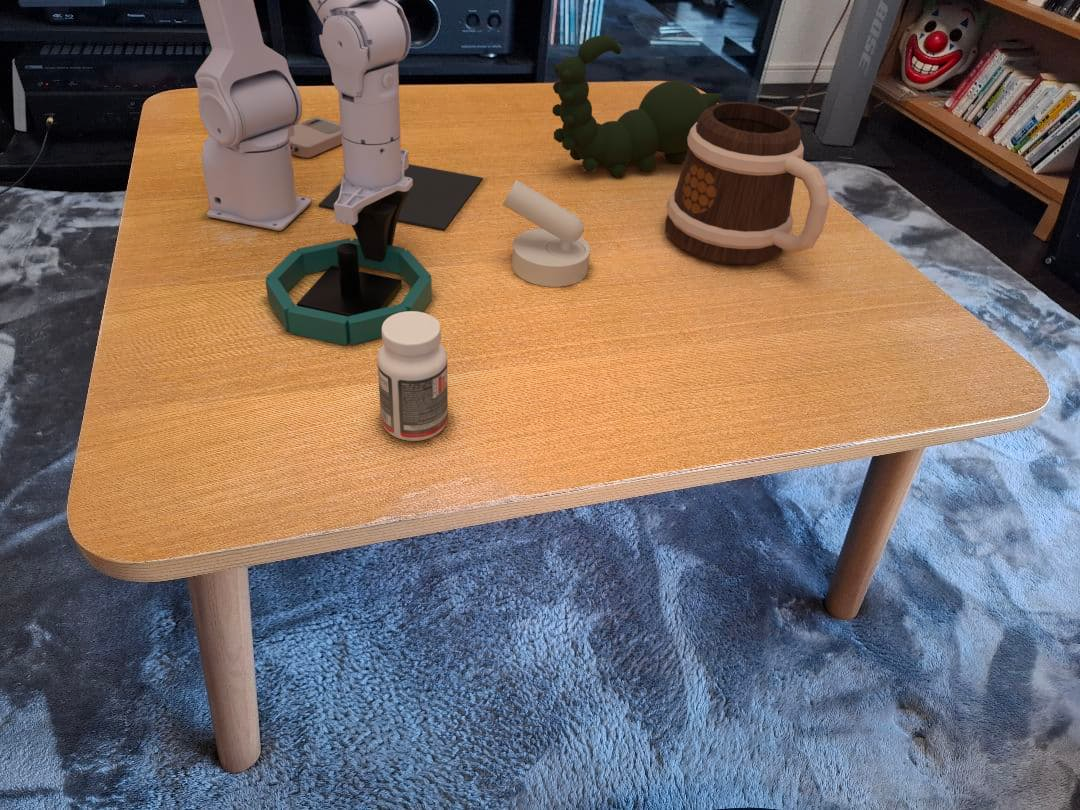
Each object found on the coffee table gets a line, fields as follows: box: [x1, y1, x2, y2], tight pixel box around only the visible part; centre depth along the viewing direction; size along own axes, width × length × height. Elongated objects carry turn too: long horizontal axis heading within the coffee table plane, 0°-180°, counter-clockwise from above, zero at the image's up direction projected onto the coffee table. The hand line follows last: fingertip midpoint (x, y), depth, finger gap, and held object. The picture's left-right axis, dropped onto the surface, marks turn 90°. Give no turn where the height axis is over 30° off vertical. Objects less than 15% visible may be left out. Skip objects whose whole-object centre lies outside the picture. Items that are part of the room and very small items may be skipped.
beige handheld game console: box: [289, 116, 342, 159], centre depth 117 cm, size 7×16×3 cm, turn 148°
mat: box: [318, 163, 483, 231], centre depth 108 cm, size 16×15×1 cm
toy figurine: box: [552, 34, 724, 178], centre depth 114 cm, size 9×19×25 cm
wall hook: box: [502, 179, 591, 288], centre depth 94 cm, size 9×10×10 cm
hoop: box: [265, 237, 433, 346], centre depth 88 cm, size 15×15×3 cm
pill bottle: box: [376, 311, 449, 442], centre depth 72 cm, size 6×6×10 cm
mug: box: [664, 101, 830, 267], centre depth 99 cm, size 20×15×15 cm
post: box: [296, 243, 403, 317], centre depth 87 cm, size 8×8×6 cm
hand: (377, 255), depth 93 cm, fingers closed on hoop
